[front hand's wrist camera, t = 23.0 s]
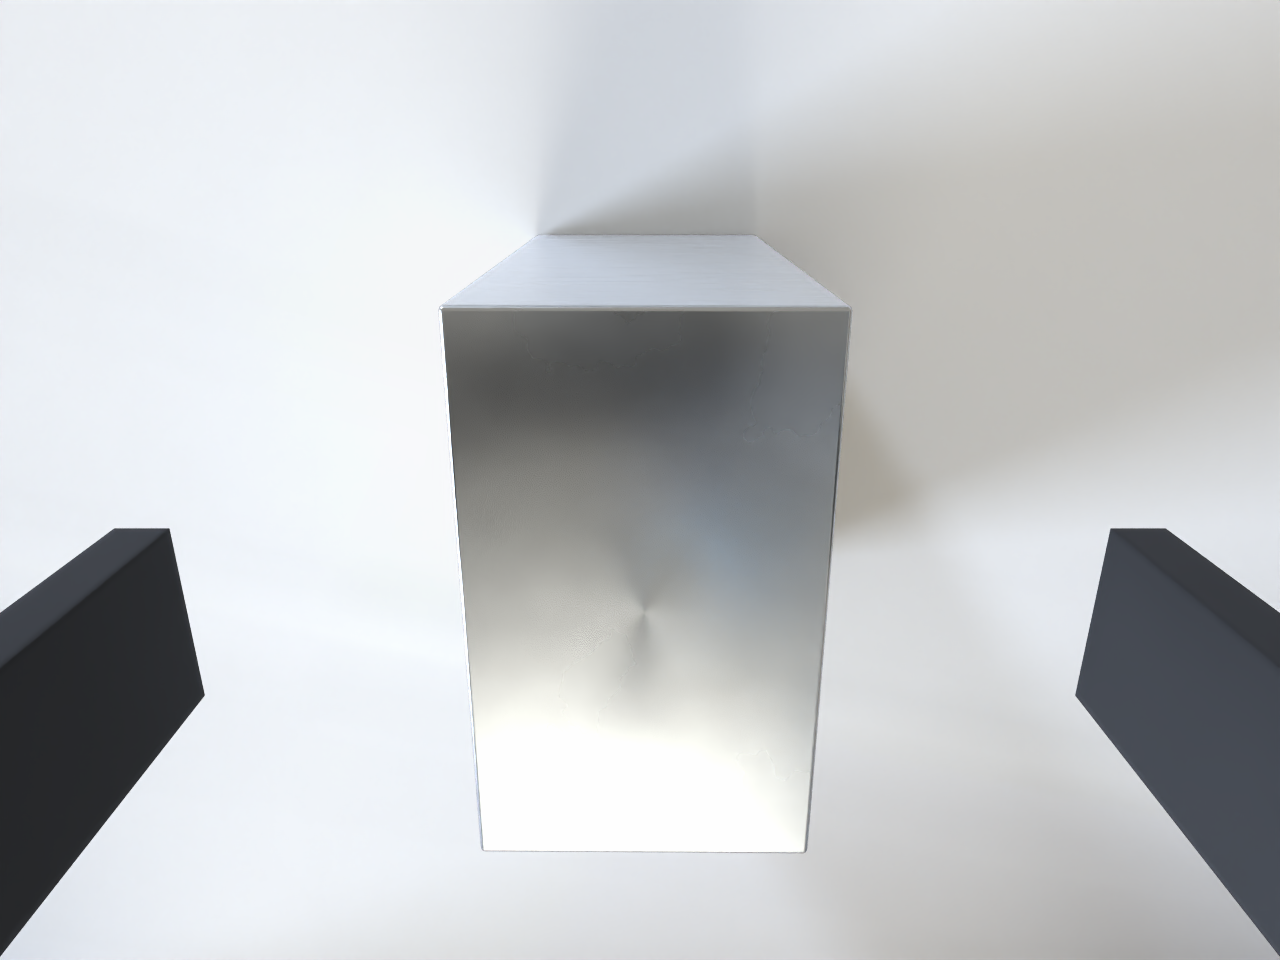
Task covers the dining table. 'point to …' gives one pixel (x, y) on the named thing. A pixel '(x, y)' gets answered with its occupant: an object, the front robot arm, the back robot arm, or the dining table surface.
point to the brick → (644, 538)
